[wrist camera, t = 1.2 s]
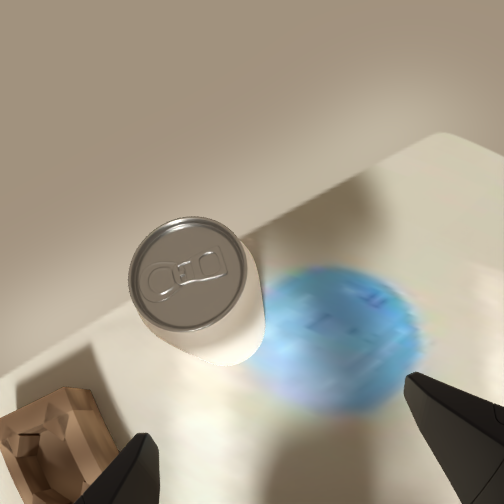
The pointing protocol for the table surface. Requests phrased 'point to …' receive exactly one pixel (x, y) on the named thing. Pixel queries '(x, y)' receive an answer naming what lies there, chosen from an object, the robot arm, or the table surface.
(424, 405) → the robot arm
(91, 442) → the socket block
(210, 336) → the can
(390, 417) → the table surface
